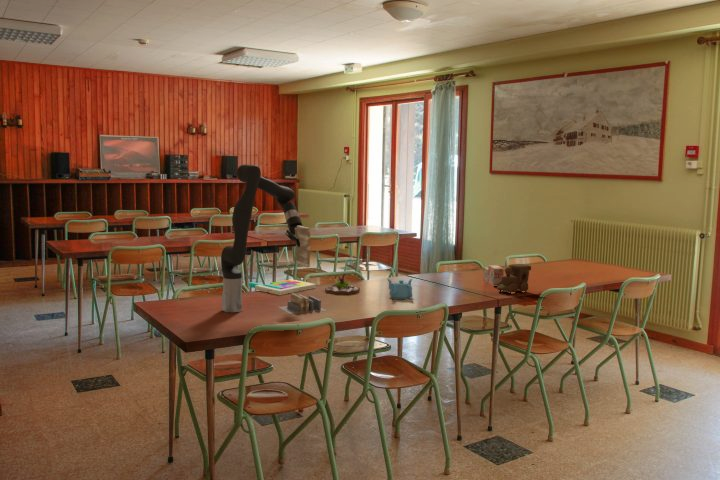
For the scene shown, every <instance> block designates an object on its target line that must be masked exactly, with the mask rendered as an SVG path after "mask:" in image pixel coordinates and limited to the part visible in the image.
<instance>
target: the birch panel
mask: <svg viewBox="0 0 720 480" xmlns="http://www.w3.org/2000/svg"><path fill="white" fill-rule="evenodd" d="M297 234H298V239H299V242H300V247H298V246H297V245H295V246H296V247H295V249H296V250H295V251H296V252H295V264H296V265H299V266H302V267H304V268H310V262H311V227H306V226H303V225H302V226H297Z"/></svg>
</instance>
